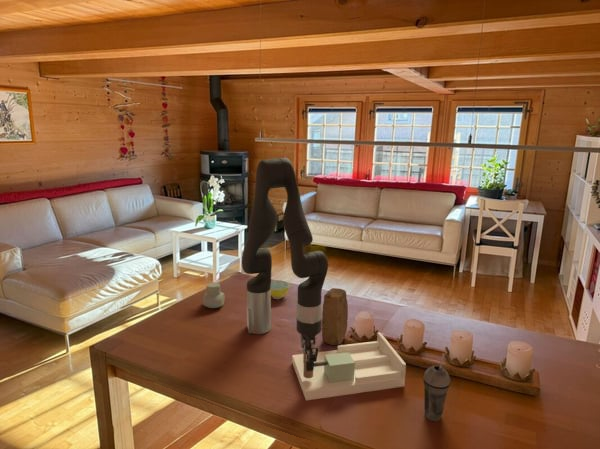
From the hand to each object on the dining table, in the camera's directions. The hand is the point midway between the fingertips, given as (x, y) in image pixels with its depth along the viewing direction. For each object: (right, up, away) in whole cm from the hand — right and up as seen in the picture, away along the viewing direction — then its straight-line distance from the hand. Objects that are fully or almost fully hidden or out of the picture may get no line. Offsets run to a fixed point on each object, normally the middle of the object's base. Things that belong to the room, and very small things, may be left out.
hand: (308, 366), depth 130 cm
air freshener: (-41, +8, +58) cm, 71 cm away
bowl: (-13, +10, +67) cm, 69 cm away
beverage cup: (+35, -11, -9) cm, 38 cm away
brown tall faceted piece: (+11, 0, +31) cm, 32 cm away
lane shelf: (+13, -6, +9) cm, 17 cm away
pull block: (+6, -4, +3) cm, 8 cm away
